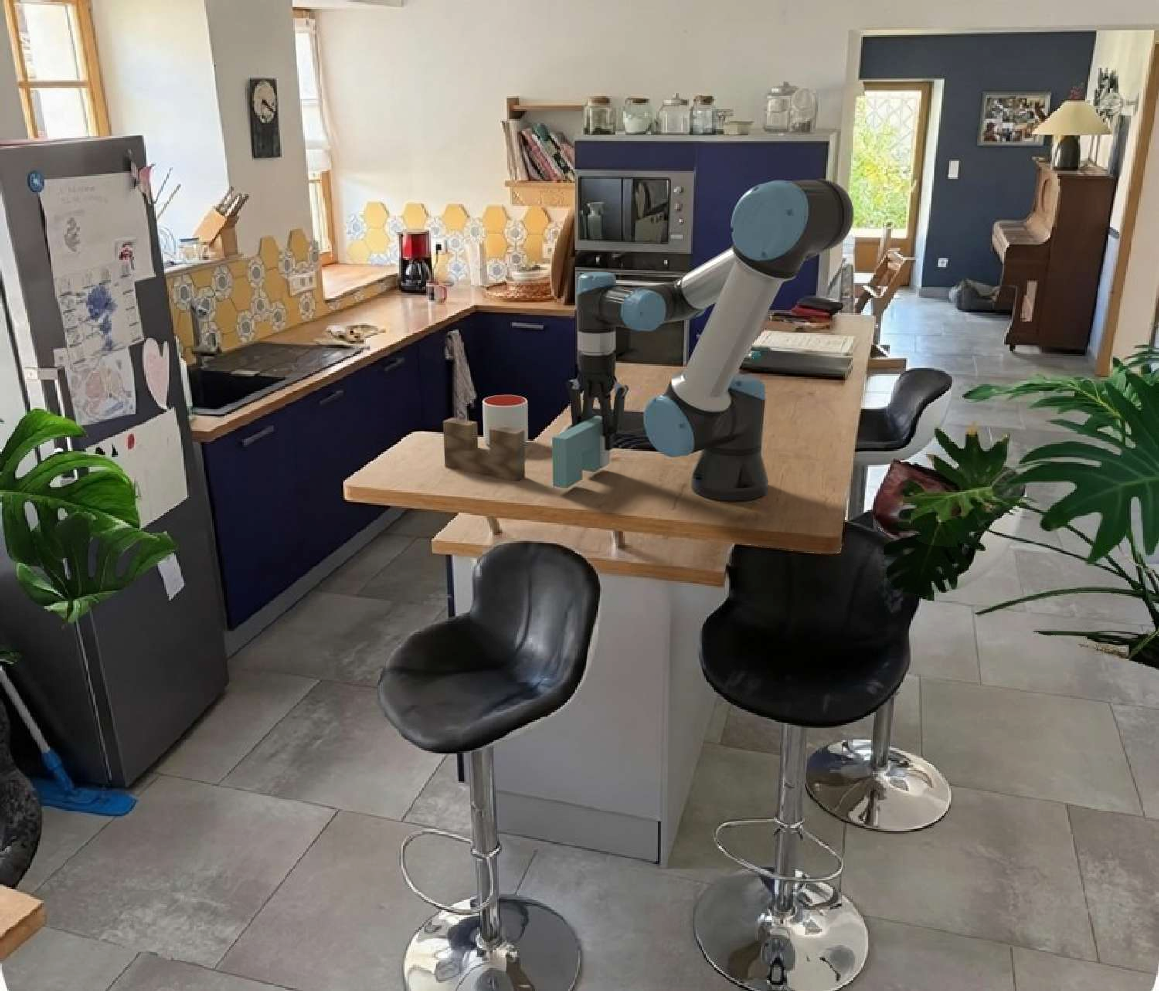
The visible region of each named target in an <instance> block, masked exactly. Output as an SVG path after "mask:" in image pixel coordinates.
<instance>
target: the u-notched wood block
mask: <svg viewBox="0 0 1159 991" xmlns="http://www.w3.org/2000/svg"><path fill="white" fill-rule="evenodd" d="M442 426H443V428H442V429H443V449H444V450H443V451H444V467H445V468H450V469H455V470H459V471H463V472H470V473H474V474H479V475H484V476H489V477H495V478H499V479H505V480H509V481H513V482H514V481H515V482H518V481H520V480H522V479H523V478H526V468H525V467H526V465H525V463H526V462H525V461H526V460H525V458H526V454H525V446H526V445H525V444H526V443H525V444H524V430H520V429H514V428H508V427H502V426H495V427H493V428H491V429H489V440H490V446H489V448H488V449H487V448H484V447H483V448H482V447H479V441H478V440H479V439H478V438H479V437H478V436H479V435H478V422H477V421H473V420H466V419H460V418H456V417H450V418H448V419H446V420H443V421H442Z"/></svg>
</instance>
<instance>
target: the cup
mask: <svg viewBox="0 0 1159 991" xmlns="http://www.w3.org/2000/svg"><path fill="white" fill-rule="evenodd" d="M528 406H529V404H528V400H527V398H525V397H523V396H519V395H514V394H501V395H499V394H498V395H493V396H488V397H485V398H483V400H482V423H483V424H482V425H483V426H482V427H483V428H482V429H483V441H484V443H485V444H486V445H488V446H489V447H490V440H489V429H491V428H493V427H495V426H502V427H508V428H514V429H520V430H524V444H526V443H527V441H528V439H529V425H528V424H529V422H528V420H529V419H528V416H529V414H528V411H529V410H528V409H529V407H528Z"/></svg>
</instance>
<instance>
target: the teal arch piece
mask: <svg viewBox="0 0 1159 991" xmlns="http://www.w3.org/2000/svg"><path fill="white" fill-rule="evenodd" d="M603 433H604V431H603V424H602V417H601V415H595V416H592V418H590V419H588V420H586V421H584V422H582V423H580V424H578V425H576V426H574V427H572V426H571V427H570V428H568V429H565V430H564V431H562V432H559V433H558V434H556V435H554V436H552V437H551V440H552V441H551V444H552V446H551V447H552V448H551V449H552V451H551V453H552V487H556V488H559V489H560V488H562V489H568V488H570V487H571V486H573V485H575V484H577V483H578V482H580V481H582V480H583V471H585V472H591V473H595V472H598V471H599V470H600V469H603V468H604V467H603V466H600V436H601V435H602V434H603ZM607 465H609V464H607ZM607 465H606V466H607Z"/></svg>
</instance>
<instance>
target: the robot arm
mask: <svg viewBox="0 0 1159 991" xmlns="http://www.w3.org/2000/svg"><path fill="white" fill-rule="evenodd" d="M731 215H732V217H731V220H730V227H731V228H732V232H731V238H732V241H733V243H732V246H731V247H730V248H728V249H726V250H725V251H723V252H721V253H720V254H718V255H717V256H714V257H713V258H711V259H710V260H708V261H706V262H705V263H703V264H701V265H699V266H698V267H696V268H695V269H693V270H691V271H689V272H688V273H686V274H685V275H683V276H681V277H679V278H677V279H676V280H674V281H672V282H667V283H661V284H654V285H646V286H639V287H627V286H626V287H624V286H618V285H617V279H616V275H615V274H614V273H612V272H606V271H591V272H589V271H588V272H584V273H582V274H580V275H579V277H578V280H577V292H576V297H577V350H578V351H579V352H578V354H577V367H578V368H577V370H578V375H577V376H576V379H575V378H574V379H571V380H568V381H566V383H565V386H566V388H567V391H568V394H569V395H568V396H569V406H570V417H571V418H570V419H571V428H572V427H574V426H576V425H578V424H580V423H582V422H584V421H586V420H588V419H590V418H592V417H593V411H594V405H595V404H594V403H595V399H596V398H597V402H598V404H599V408H600V416H601V417H602V424H603V431H604V433H603V434H602V435H601V436H600V466H603V467H602V468H604V467H606V466H607V464H608V465H609V464H610V463H611V462H610V460H611V458H610V456H611V453H610V452H611V450H613V448H614V436H615V435H616V434H618V433H620V432H622V430H623V428H624V427H623V426H624V425H623V423H624V415H625V414H624V412H625V401H626V396H627V393H628V392H629V386H628V385H626V384H624V385H623V384H621V383H619V382H618V379H617V377H616V373H615V372H616V366H617V364H616V363H617V362H616V361H617V360H616V353H615V350H616V328H617V327H621V328H626V329H630V330H634V331H638V332H641V331H644V332H652V331H655V330H656V329H657V328H659V326H661V325H663V324H665V323H667V324H668V323H671V322H679V321H689V320H692V319H694V318H697V317H700V316H702V315H703V314H704V313H706V311H707V308H709V307H710V306H712V305H714V307H713V309H712V311H711V313H710V315H709V317H708V319H707V321H706V324H705V326H704V329H703V330H702V332H701V334H700V337H699V339H698V341H697V343H696V345H695V347H694V349H693V352H692V354H691V356H690V359H689V360H688V362H687V364H686V367H685V368H684V370H680V371H677V372H675V373H674V374H673V376H672V377H671V379H670V381H669V383H668V386H667V387H666V390H665V392H664V393H663V394H662V395H655V396H654V398H651V399H650V400H649V401H648V403H646V406H645V408H644V412H643V426H644V429H645V431H646V432H645V433H646V436H647V438H648V440H649V442H650V443H651V445H652V446H653V447H654V449H655V450H657V452H659V453H660V454H661V455H663V456H666V457H669V458H677V457H687V456H689V455H691V454H695V453H697V452H700V454H699V456H698V458H697V460H696V464H695V466H694V468H693V471H692V474H691V478H690V479H691V484H690V485H691V486H690V487H691V490H692V491H693V492H694V493H696V494H698V495H700V496H702V497H706V498H709V499H713V500H717V501H726V502H728V501H729V502H741V501H740V500H745V501H751V499H752V500H755V498H756V499H758V498H757V497H759V498H761V496H762V497H764V496H765V495H766V494H767V493H768V488H769V479H768V475H767V471H766V467H765V463H764V460H763V459H764V458H763V455H762V444H763V432H764V420H765V419H764V418H765V405H766V401H767V398H766V385H765V383H764V381H762V379H760V378H758V377H755V376H751V375H746V374H742V373H741V374H740V373H738V371H739V369H740V367H741V365H742V364H743V361H744V360H745V358H746V355H747V354H748V352H749V349H750V347H751V345H752V343H753V341H754V340H755V338H756V336H757V334H758V331H759V330H760V328H761V326H762V324H763V322H764V319H765V317H766V316H767V314H768V313H769V310H770V308H771V306H772V305H773V302H774V300H775V297H776V296H777V295H778V292H779V290H780V288H781V286H782V284H783V283H785V282H787V281H791V280H793V279H795V278H796V277H797V275H798V273H799V271H800V269H801V267H802V266H803V263H804V261H808V260H811V259H812V258H814V257H816V256H818V255H820V254H822V253H824V252H827V251H829V250H832V249H833V248H836V247H837V246H838V245H839V244H842V242H843V241H844V240H845V239H846V238H847V236H848V235H849V233H850V231H851V229H852V227H853V223H854V216H855V213H854V205H853V201H852V199H851V197H850V196H849V193H847V191H846V190H845V189H844V188H843V187H841V185H839V184H838V183H836V182H834V181H831V180H828V179H823V178H818V179H817V178H815V179H803V180H785V179H784V180H781V179H778V180H777V179H776V180H772V181H769V182H766V183H761V184H757V185H756V186H753V187H752V188H749V189H748V190H747V191H745V193H744V194H743V195H742V196H741V197H740V199H739V200H738V202H737V203H736V205H735V207H734V210H733V212H732V214H731ZM580 387H581V389H582V392H583V393H582V396H581V390H580ZM613 390H614V391H613ZM612 391H613V394H614V399H613V407H612V404H611V400H612V394H611V392H612ZM581 397H582V398H581ZM612 408H613V411H612ZM766 492H767V493H766ZM765 493H766V494H765ZM764 494H765V495H764Z"/></svg>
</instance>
